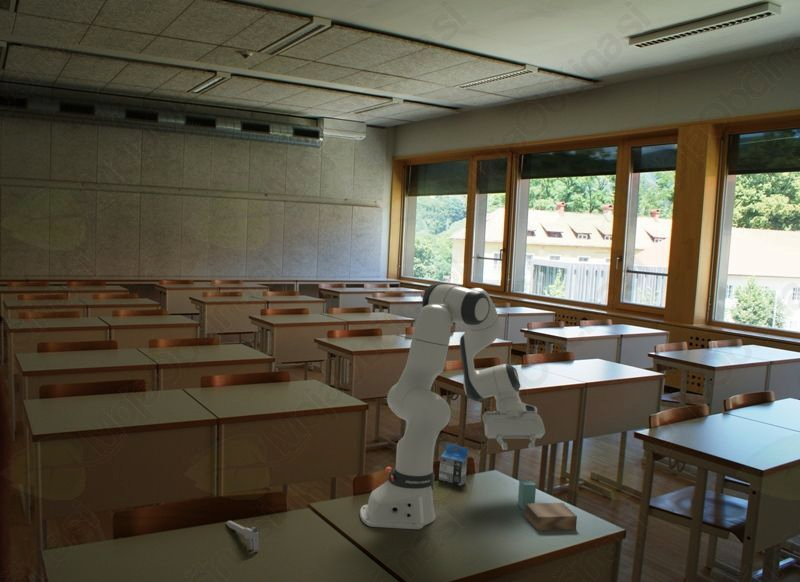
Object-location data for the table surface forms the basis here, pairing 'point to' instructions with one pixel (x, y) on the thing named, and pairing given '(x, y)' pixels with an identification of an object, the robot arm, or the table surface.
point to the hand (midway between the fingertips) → (518, 449)
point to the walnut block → (550, 516)
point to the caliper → (246, 534)
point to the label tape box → (453, 465)
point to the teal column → (526, 493)
